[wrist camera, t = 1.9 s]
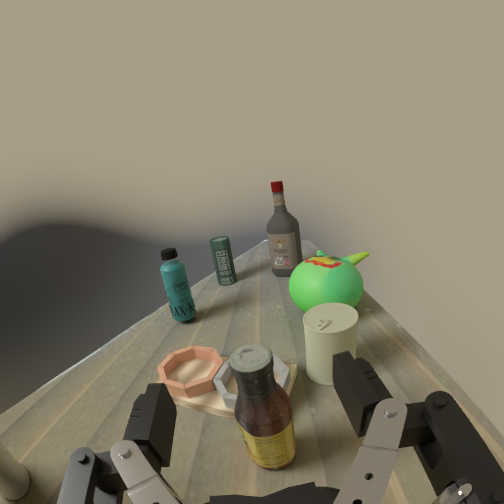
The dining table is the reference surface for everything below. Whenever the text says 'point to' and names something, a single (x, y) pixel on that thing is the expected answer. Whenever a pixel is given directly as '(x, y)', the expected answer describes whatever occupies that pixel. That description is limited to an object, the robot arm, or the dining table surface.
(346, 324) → the can
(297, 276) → the green horned round ornament
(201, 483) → the dining table surface
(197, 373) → the board
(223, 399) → the collar grey
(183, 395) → the collar terracotta
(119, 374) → the dining table surface
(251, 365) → the sauce bottle
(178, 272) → the beverage bottle
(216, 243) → the can
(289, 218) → the liquor
